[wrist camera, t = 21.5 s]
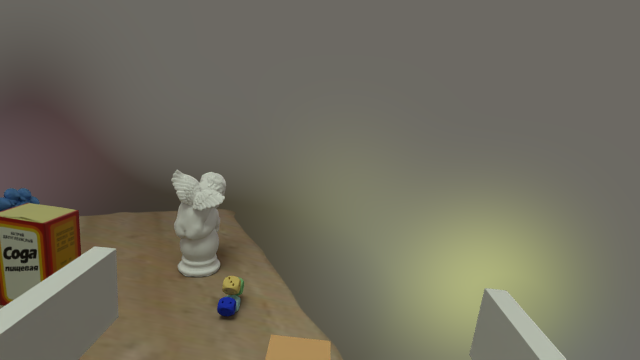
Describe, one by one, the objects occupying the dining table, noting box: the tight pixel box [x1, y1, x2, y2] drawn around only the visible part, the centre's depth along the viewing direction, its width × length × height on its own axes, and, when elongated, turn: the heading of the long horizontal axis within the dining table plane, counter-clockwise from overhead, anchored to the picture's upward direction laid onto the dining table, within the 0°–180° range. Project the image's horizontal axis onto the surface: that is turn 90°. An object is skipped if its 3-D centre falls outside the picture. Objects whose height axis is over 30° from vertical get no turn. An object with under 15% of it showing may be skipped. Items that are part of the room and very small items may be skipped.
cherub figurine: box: [172, 170, 226, 277], centre depth 75 cm, size 12×12×22 cm
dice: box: [217, 276, 244, 316], centre depth 65 cm, size 8×3×6 cm, turn 178°
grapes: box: [0, 188, 40, 211], centre depth 82 cm, size 12×7×12 cm, turn 178°
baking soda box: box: [0, 203, 81, 306], centre depth 61 cm, size 10×6×16 cm
